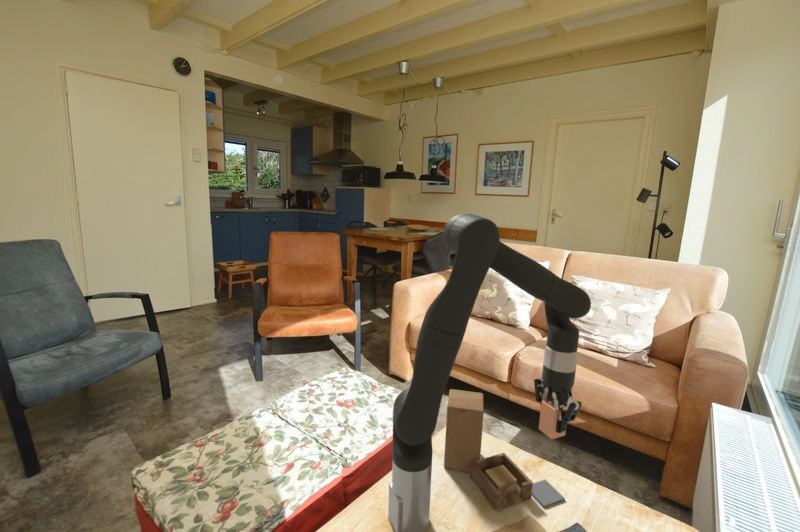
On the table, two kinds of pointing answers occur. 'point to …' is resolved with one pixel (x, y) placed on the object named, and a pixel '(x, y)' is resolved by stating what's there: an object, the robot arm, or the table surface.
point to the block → (549, 420)
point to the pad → (546, 493)
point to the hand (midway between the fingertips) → (552, 425)
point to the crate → (501, 481)
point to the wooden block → (463, 429)
